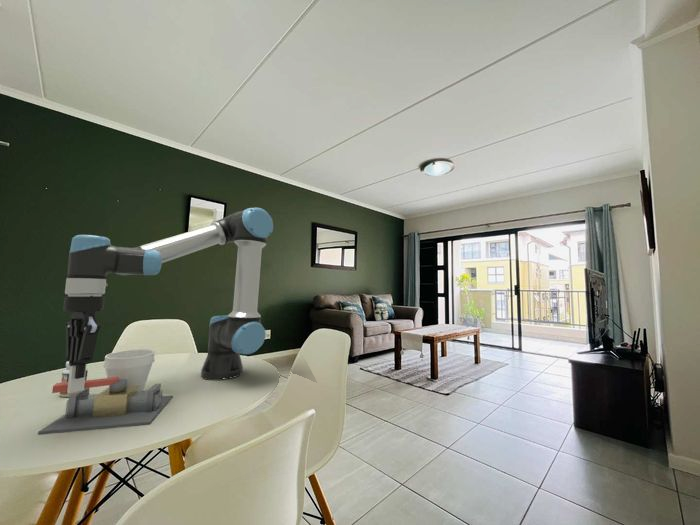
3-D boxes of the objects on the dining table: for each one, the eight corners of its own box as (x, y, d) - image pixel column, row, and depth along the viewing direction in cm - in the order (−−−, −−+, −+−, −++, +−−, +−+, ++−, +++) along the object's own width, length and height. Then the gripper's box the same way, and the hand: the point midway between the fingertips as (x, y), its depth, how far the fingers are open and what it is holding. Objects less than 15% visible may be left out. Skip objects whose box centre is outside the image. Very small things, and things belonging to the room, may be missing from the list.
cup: (140, 406, 80) (144, 357, 82) (89, 410, 78) (94, 359, 79) (158, 391, 92) (161, 348, 94) (114, 393, 89) (118, 349, 91)
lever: (127, 386, 79) (128, 374, 79) (126, 390, 76) (127, 377, 76) (54, 396, 70) (56, 382, 71) (50, 401, 68) (52, 387, 68)
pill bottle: (68, 398, 84) (73, 364, 85) (54, 396, 85) (58, 362, 86) (89, 391, 89) (93, 359, 90) (75, 390, 90) (79, 358, 91)
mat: (173, 397, 87) (173, 395, 87) (149, 424, 70) (150, 421, 70) (86, 403, 81) (86, 400, 81) (37, 434, 64) (38, 431, 64)
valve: (163, 402, 82) (165, 382, 82) (153, 412, 75) (155, 390, 76) (78, 408, 76) (81, 387, 77) (60, 420, 69) (63, 396, 70)
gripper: (116, 295, 73) (107, 390, 70) (92, 295, 78) (83, 383, 76) (78, 296, 66) (66, 401, 63) (54, 295, 72) (43, 391, 69)
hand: (75, 391), depth 70 cm, fingers closed
